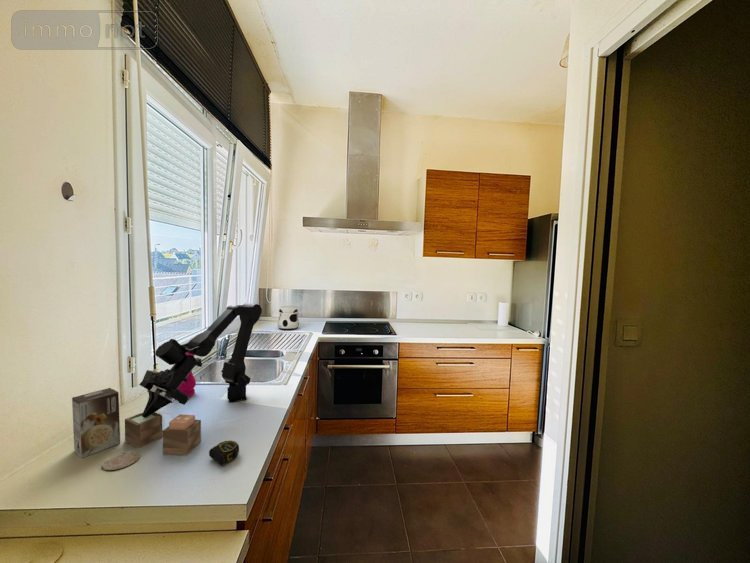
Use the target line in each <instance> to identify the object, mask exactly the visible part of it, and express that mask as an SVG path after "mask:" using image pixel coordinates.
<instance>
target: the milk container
mask: <svg viewBox="0 0 750 563" xmlns="http://www.w3.org/2000/svg"><path fill="white" fill-rule="evenodd" d="M299 325H300V320H299V307H298V306H295V305H283V306H279V308H278V319H277V328H278V329H279V330H285V331H286V330H287V331H288V330H295V329H297V328H299Z"/></svg>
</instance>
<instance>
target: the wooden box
mask: <svg viewBox="0 0 750 563" xmlns="http://www.w3.org/2000/svg"><path fill="white" fill-rule="evenodd" d="M200 443H202V420H201V419H195V423H194V424H193V425H191V426H190V427H189V428H188V429H187V430H169V425H168V426H167V427H166V428H164V429H162V455H170V456H185V457H186V456H188V455H189V454H190V453H191V452H192V451H193V450H194V449H195V448H196V447H197V446H198V445H199V444H200Z"/></svg>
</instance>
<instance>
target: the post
mask: <svg viewBox="0 0 750 563" xmlns="http://www.w3.org/2000/svg"><path fill="white" fill-rule="evenodd" d="M142 414H143V412H141V413H137V414H135V415H131V416H130V417H126V418H125V419H124V442H125V443H128V444H129V445H131V446H133V447H135V448H137V449H139V448H141V447H143V446H146V445H148V444H150V443H152V442H155V441H156V440H159V439H160V438H163V415H162V414H161V413H158V412H157V411H156V412H154V413H153V414H152V415H154V416H156V417H154V418H151V419H149V420H146V421H144V422H141V423H137V422H135V421H133V420H131V419H133V418H136V417H139V416H141V415H142Z"/></svg>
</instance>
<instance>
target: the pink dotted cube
mask: <svg viewBox="0 0 750 563" xmlns="http://www.w3.org/2000/svg"><path fill="white" fill-rule="evenodd" d="M195 420H196V415H194V414H182V413H181V414H178V415H177V416H176V417H174V418H173V419H171V420H170V421H169V422H168V426H169V430H187V429H188V428H189V427H190V426H191V425H193V424H194V423H195Z"/></svg>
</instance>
